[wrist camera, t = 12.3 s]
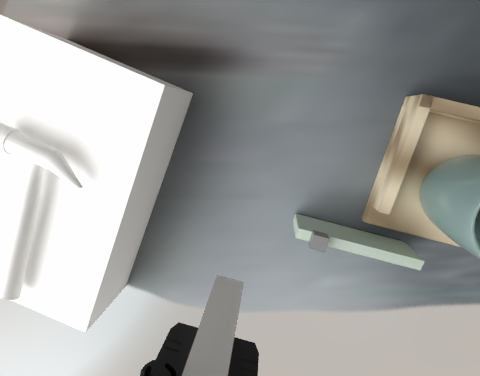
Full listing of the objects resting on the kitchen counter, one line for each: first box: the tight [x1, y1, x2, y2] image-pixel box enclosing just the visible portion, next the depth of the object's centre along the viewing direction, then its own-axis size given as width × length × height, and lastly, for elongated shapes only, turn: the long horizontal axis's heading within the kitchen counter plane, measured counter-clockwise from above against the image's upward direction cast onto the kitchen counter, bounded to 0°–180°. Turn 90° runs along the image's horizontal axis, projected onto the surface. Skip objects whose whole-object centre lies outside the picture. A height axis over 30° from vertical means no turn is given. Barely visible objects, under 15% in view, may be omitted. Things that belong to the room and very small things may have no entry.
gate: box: [293, 214, 424, 271], centre depth 30 cm, size 1×12×6 cm, turn 77°
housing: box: [362, 94, 480, 247], centre depth 28 cm, size 13×14×4 cm
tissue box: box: [0, 15, 193, 332], centre depth 29 cm, size 14×25×11 cm, turn 158°
